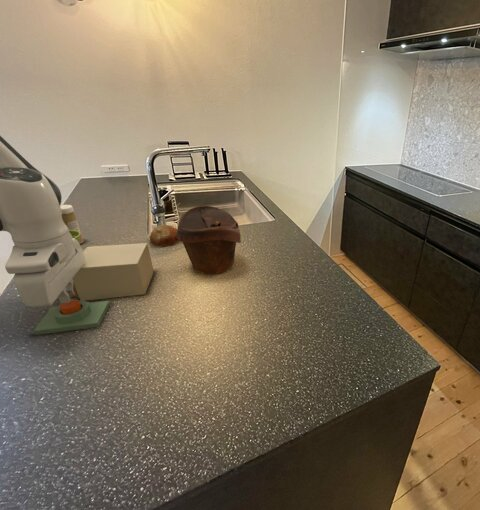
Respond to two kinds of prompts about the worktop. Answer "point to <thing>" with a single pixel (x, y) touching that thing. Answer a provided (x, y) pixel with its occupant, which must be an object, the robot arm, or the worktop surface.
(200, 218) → the chocolate muffin
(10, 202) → the robot arm
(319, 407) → the worktop surface
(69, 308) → the button
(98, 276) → the cabinet
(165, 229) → the bread roll
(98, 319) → the panel
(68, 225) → the sprinkles bottle
